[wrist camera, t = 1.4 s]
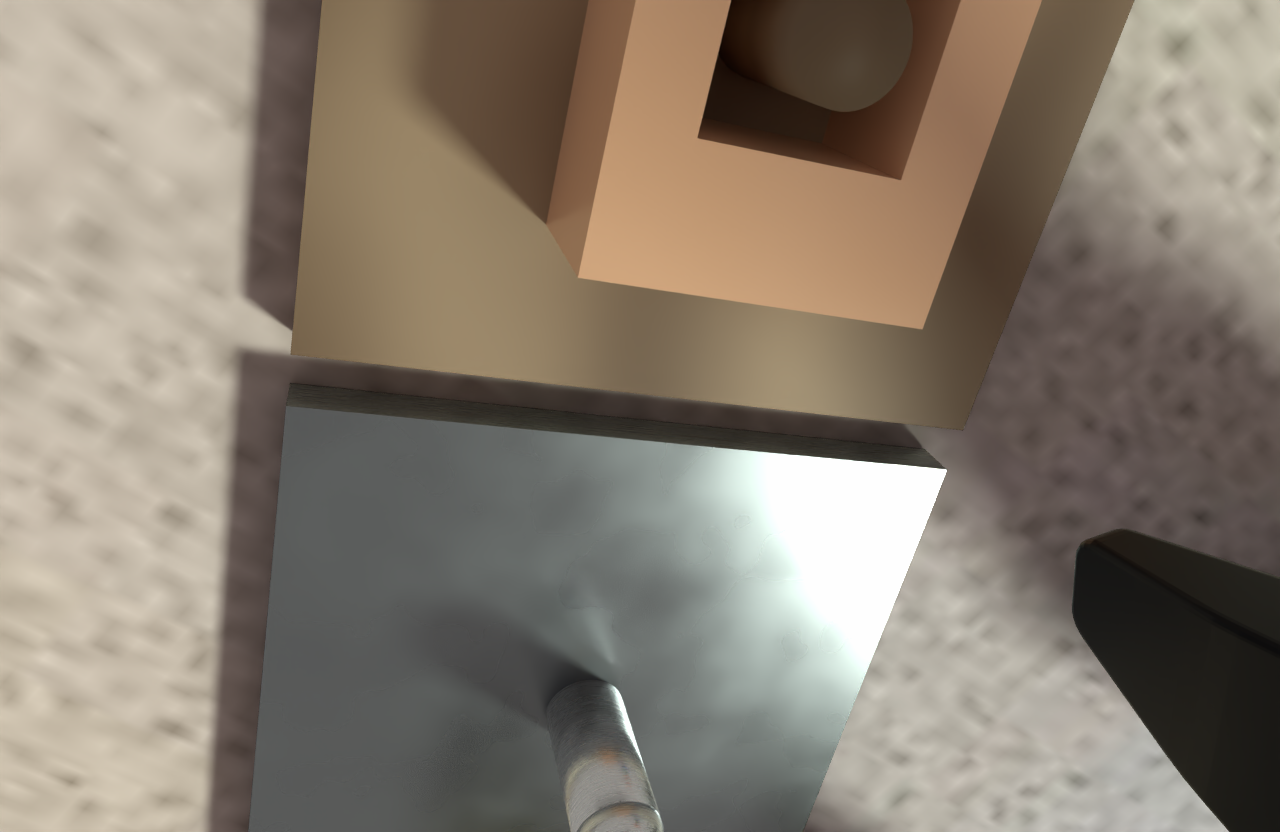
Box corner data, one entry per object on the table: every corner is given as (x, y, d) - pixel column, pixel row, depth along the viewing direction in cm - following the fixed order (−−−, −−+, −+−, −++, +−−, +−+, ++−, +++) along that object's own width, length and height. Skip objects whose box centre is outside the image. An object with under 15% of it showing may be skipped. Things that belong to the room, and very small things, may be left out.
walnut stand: (1219, -316, 17) (1481, -394, 13) (939, 410, 22) (1061, 513, 18) (386, -692, 12) (394, -988, 8) (294, 333, 18) (272, 448, 14)
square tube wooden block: (997, -194, 16) (1121, -220, 13) (845, 274, 19) (922, 329, 16) (649, -320, 14) (715, -379, 11) (545, 224, 17) (577, 277, 14)
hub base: (924, 448, 22) (1071, 585, 18) (761, 873, 28) (840, 1063, 23) (290, 383, 18) (261, 541, 13) (243, 903, 23) (211, 1146, 19)
